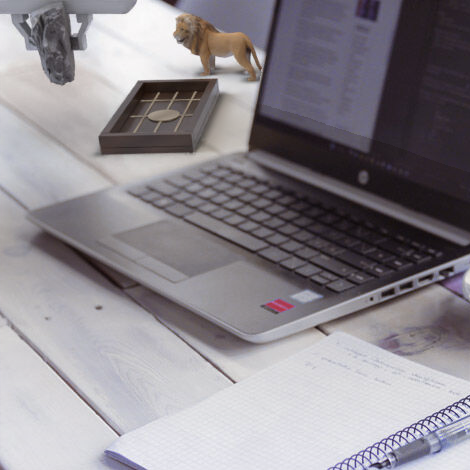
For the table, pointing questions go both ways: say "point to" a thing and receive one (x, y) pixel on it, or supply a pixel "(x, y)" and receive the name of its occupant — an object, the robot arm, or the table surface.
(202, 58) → the lion figurine
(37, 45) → the stone
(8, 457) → the table surface
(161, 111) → the board
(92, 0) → the robot arm
